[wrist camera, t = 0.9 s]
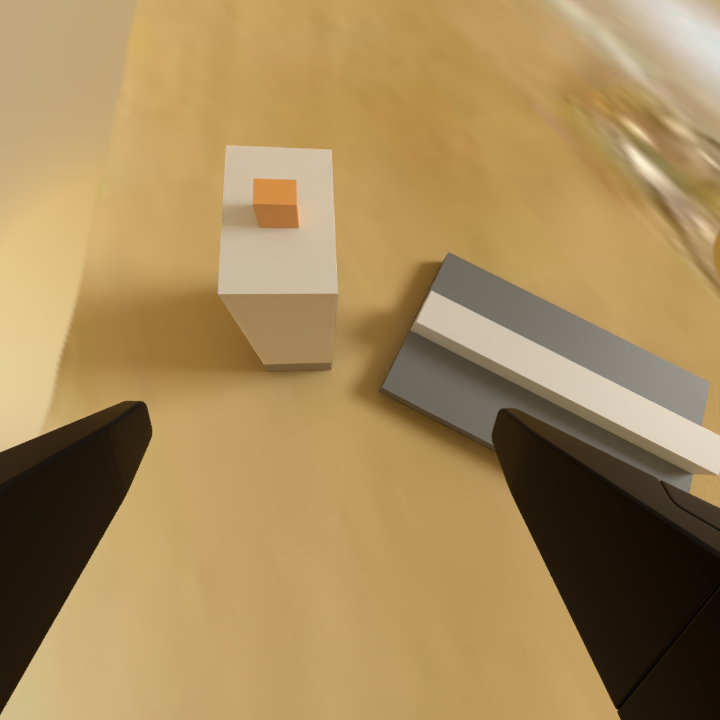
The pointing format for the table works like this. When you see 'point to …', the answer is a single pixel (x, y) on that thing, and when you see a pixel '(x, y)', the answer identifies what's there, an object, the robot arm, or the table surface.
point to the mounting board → (552, 332)
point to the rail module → (280, 254)
